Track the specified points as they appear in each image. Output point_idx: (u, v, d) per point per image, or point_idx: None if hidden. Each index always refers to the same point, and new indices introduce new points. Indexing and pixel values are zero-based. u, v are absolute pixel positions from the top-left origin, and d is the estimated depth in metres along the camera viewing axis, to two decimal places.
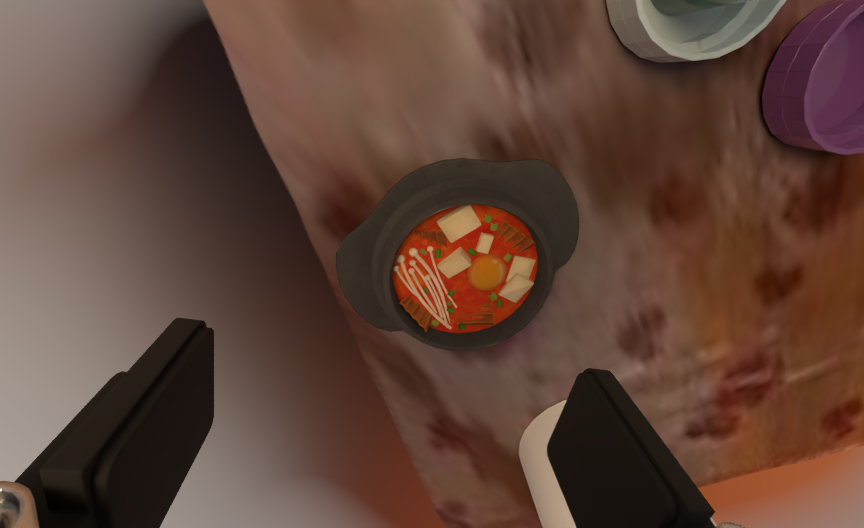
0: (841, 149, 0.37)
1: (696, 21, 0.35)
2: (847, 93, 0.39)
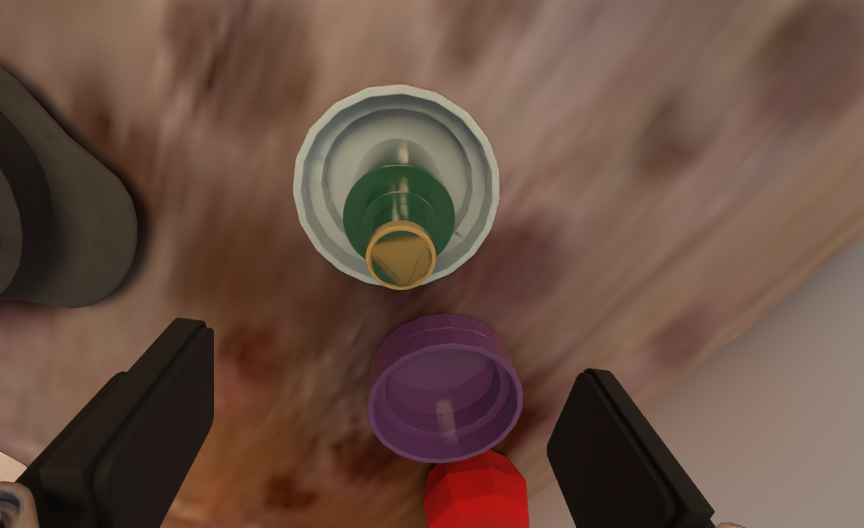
0: (381, 436, 0.35)
1: None
2: (441, 397, 0.39)
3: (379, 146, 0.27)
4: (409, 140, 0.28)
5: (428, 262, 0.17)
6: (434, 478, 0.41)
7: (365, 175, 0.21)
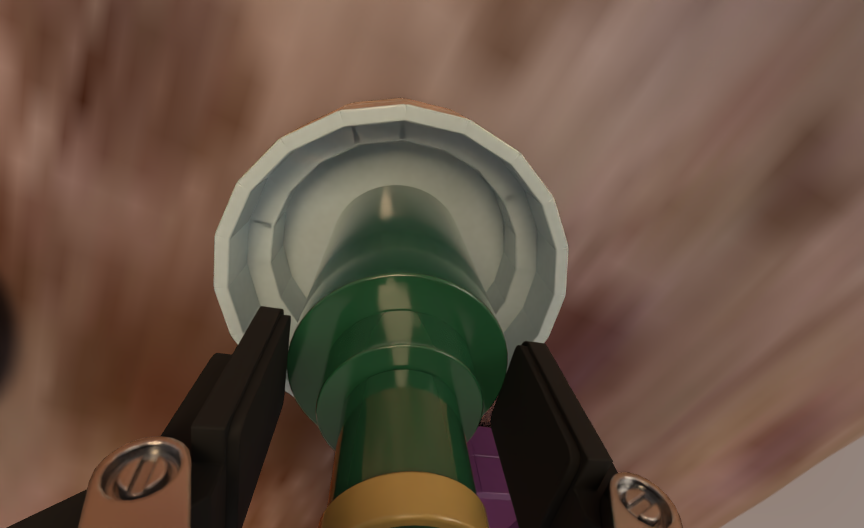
0: None
1: None
2: None
3: (365, 203, 0.16)
4: (414, 188, 0.18)
5: None
6: None
7: (329, 295, 0.10)
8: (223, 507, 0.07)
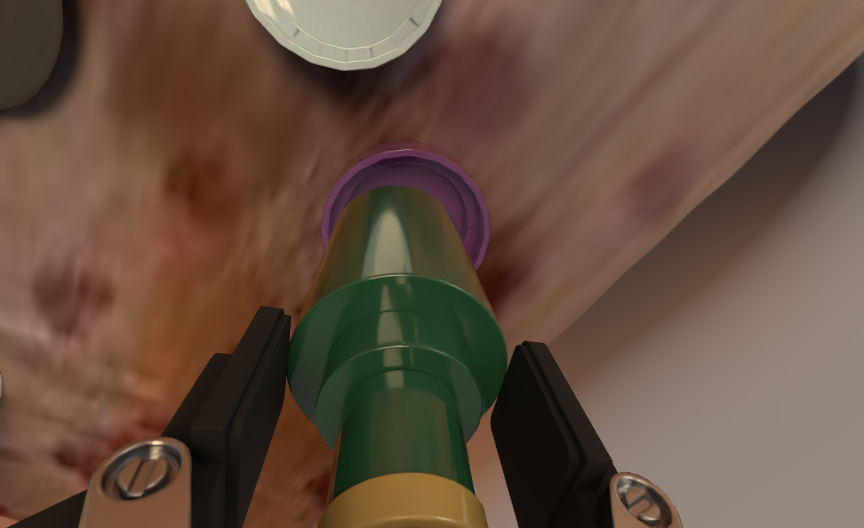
0: None
1: (331, 29, 0.29)
2: None
3: (365, 203, 0.16)
4: (414, 188, 0.18)
5: None
6: None
7: (328, 296, 0.10)
8: (224, 506, 0.07)
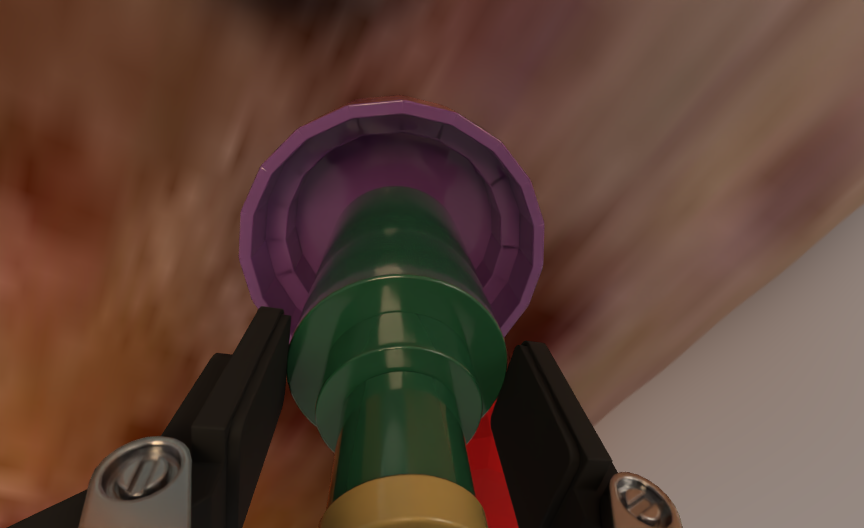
0: None
1: None
2: None
3: (365, 203, 0.16)
4: (414, 189, 0.18)
5: None
6: None
7: (328, 297, 0.10)
8: (223, 507, 0.07)
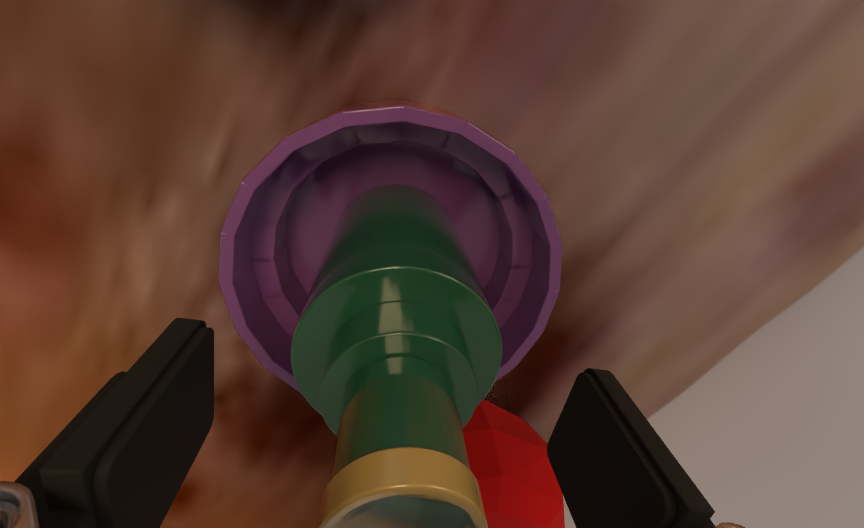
0: (262, 352, 0.16)
1: None
2: None
3: (365, 201, 0.17)
4: (413, 187, 0.18)
5: None
6: None
7: (331, 287, 0.10)
8: None
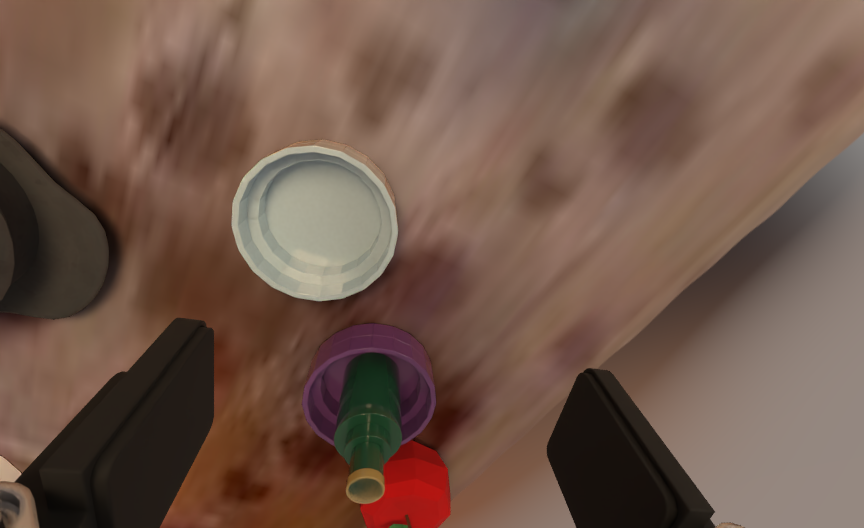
0: (316, 428, 0.41)
1: (312, 253, 0.38)
2: None
3: (358, 366, 0.41)
4: (378, 353, 0.43)
5: (380, 491, 0.32)
6: None
7: (347, 419, 0.35)
8: None
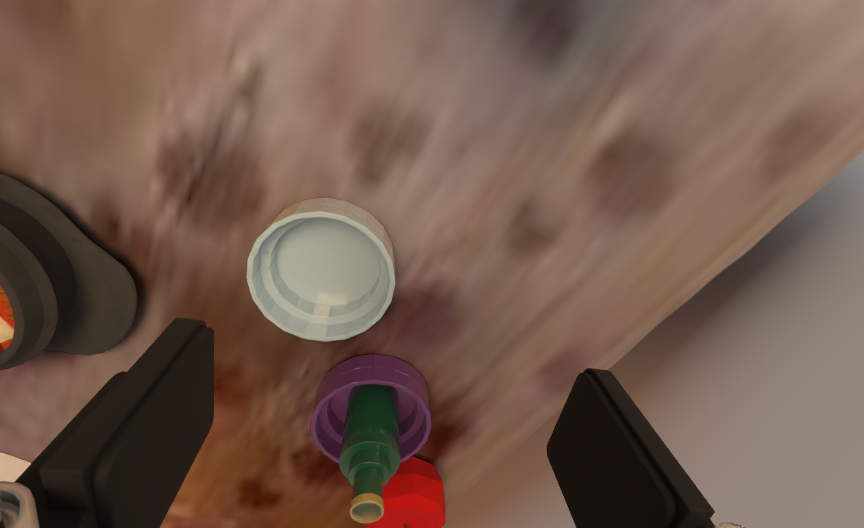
0: (323, 449, 0.45)
1: (318, 295, 0.42)
2: None
3: (360, 393, 0.45)
4: None
5: (380, 512, 0.36)
6: None
7: (350, 446, 0.39)
8: None
